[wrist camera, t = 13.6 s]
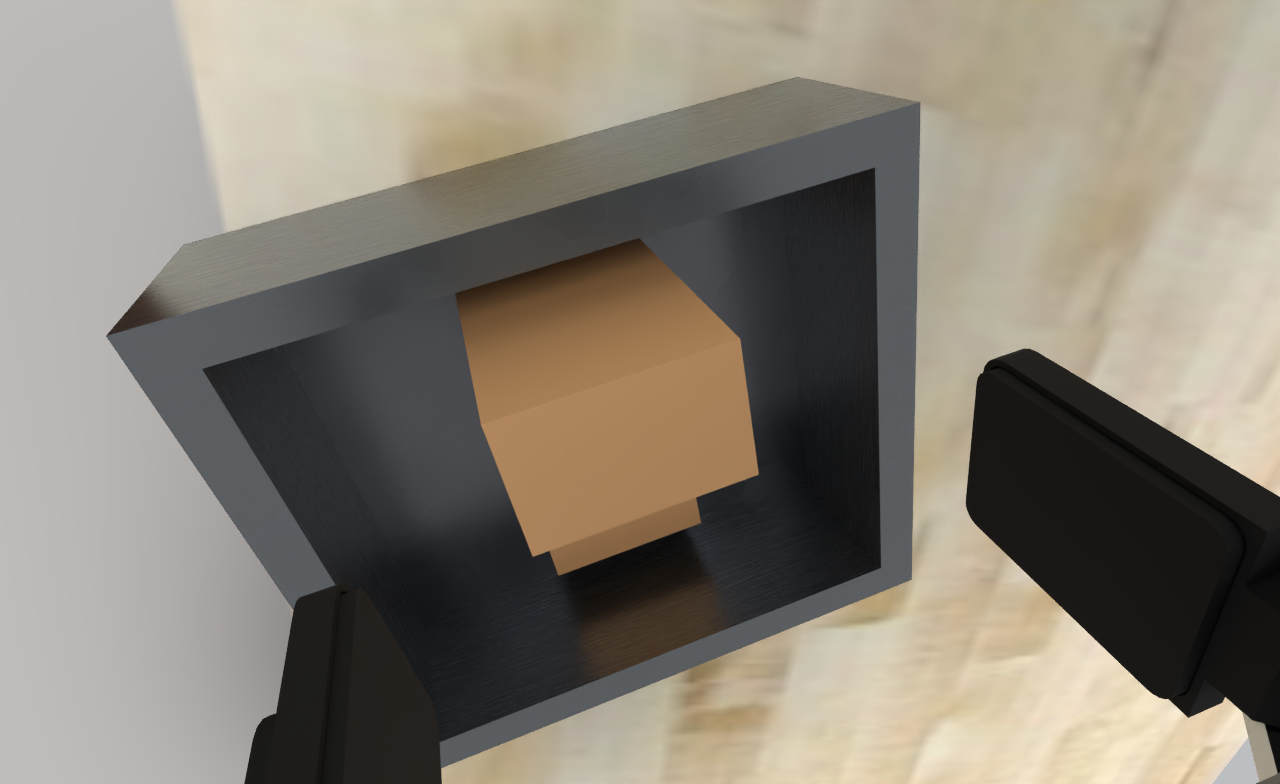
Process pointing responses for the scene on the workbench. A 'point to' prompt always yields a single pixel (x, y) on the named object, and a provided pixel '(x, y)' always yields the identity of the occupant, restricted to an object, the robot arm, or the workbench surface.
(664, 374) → the tan stepped block
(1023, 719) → the workbench surface
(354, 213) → the well box
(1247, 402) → the workbench surface
